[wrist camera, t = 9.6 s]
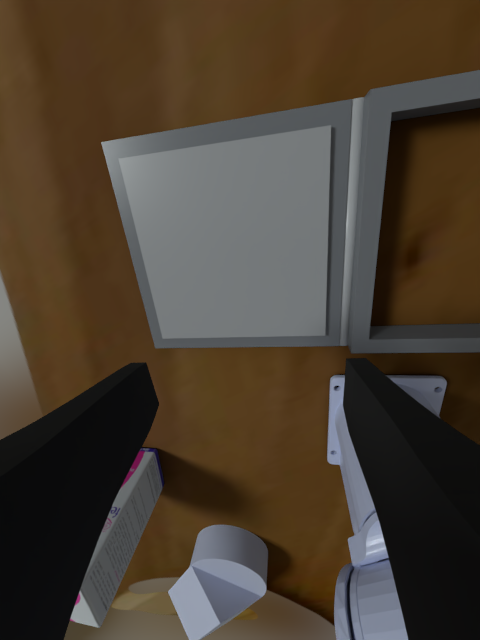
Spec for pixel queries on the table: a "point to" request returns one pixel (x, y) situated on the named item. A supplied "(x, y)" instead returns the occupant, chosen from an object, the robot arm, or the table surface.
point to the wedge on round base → (220, 579)
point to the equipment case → (275, 224)
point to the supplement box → (119, 538)
